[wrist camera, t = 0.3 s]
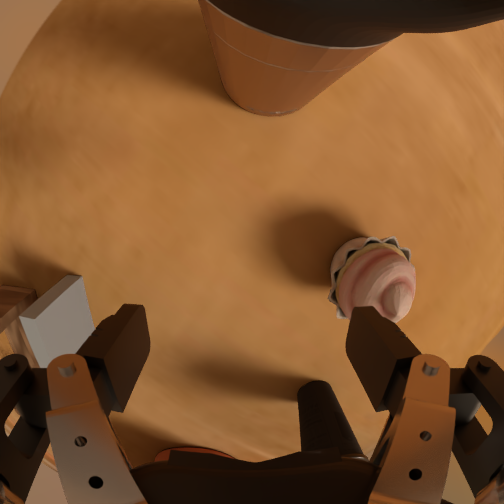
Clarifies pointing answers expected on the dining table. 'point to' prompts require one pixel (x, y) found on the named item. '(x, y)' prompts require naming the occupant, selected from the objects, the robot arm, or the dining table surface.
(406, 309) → the cupcake
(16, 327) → the wooden card holder
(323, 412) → the drinking cup
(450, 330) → the dining table surface
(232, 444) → the dining table surface
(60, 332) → the gray rectangular slab
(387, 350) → the robot arm
